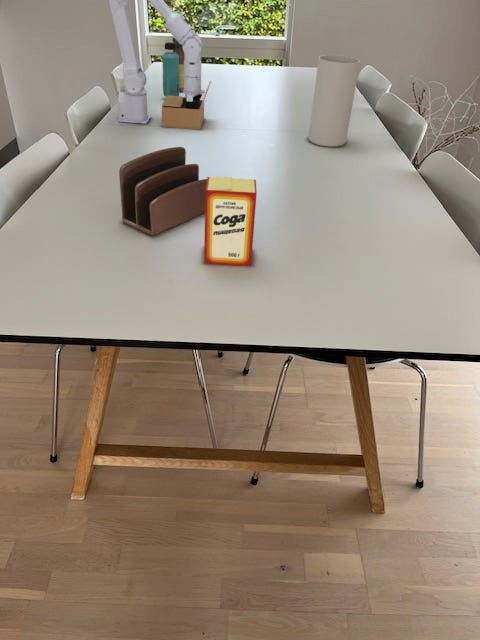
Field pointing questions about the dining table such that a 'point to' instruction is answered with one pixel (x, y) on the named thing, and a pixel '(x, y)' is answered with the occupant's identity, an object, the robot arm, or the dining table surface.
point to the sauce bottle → (180, 62)
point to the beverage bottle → (170, 71)
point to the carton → (181, 114)
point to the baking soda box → (229, 220)
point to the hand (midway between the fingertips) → (192, 118)
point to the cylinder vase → (333, 99)
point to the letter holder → (161, 191)
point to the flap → (205, 94)
